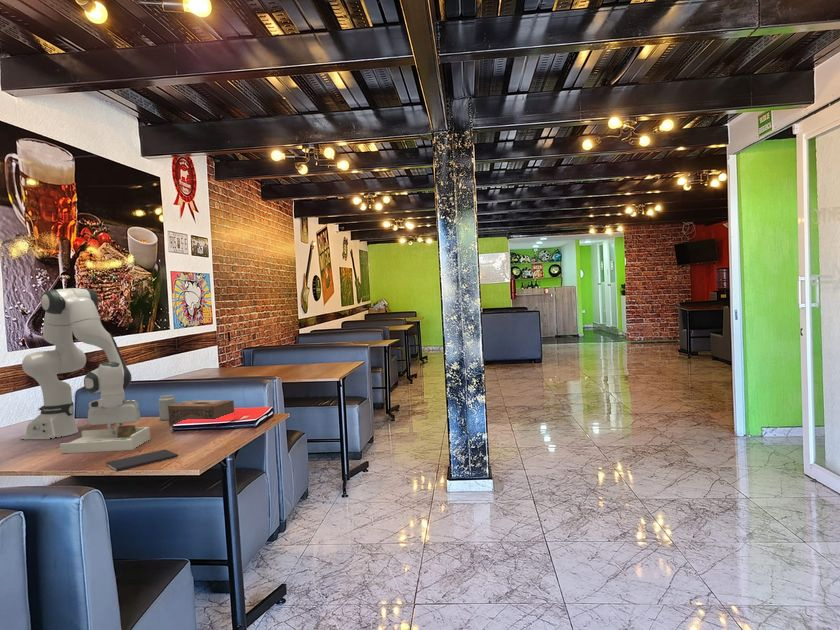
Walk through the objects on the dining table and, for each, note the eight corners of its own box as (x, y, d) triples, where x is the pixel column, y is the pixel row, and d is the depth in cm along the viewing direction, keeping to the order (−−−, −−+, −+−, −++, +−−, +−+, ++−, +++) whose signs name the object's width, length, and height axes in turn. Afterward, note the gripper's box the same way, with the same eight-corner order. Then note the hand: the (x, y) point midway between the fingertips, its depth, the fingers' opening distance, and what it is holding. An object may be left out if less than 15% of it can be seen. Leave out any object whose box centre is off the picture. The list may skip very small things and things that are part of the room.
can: (170, 421, 280) (168, 396, 279) (156, 421, 281) (155, 397, 281) (179, 417, 287) (177, 394, 287) (166, 417, 289) (164, 394, 288)
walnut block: (117, 437, 235) (116, 428, 235) (123, 435, 240) (123, 425, 240) (129, 437, 235) (129, 427, 235) (135, 434, 240) (134, 425, 240)
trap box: (61, 453, 225) (60, 440, 225) (83, 443, 241) (82, 430, 241) (132, 449, 226) (131, 436, 226) (150, 439, 242) (149, 426, 242)
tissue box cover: (234, 420, 274) (233, 400, 274) (215, 427, 260) (214, 406, 260) (190, 419, 281) (188, 399, 281) (169, 426, 268) (168, 405, 267)
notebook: (116, 473, 197) (178, 458, 212) (116, 468, 197) (178, 454, 212) (105, 466, 206) (165, 453, 221) (104, 462, 206) (165, 449, 221)
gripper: (141, 398, 240) (144, 430, 241) (93, 400, 240) (95, 433, 240) (134, 401, 234) (136, 434, 234) (84, 403, 234) (86, 437, 234)
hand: (115, 433), depth 237 cm, fingers closed
